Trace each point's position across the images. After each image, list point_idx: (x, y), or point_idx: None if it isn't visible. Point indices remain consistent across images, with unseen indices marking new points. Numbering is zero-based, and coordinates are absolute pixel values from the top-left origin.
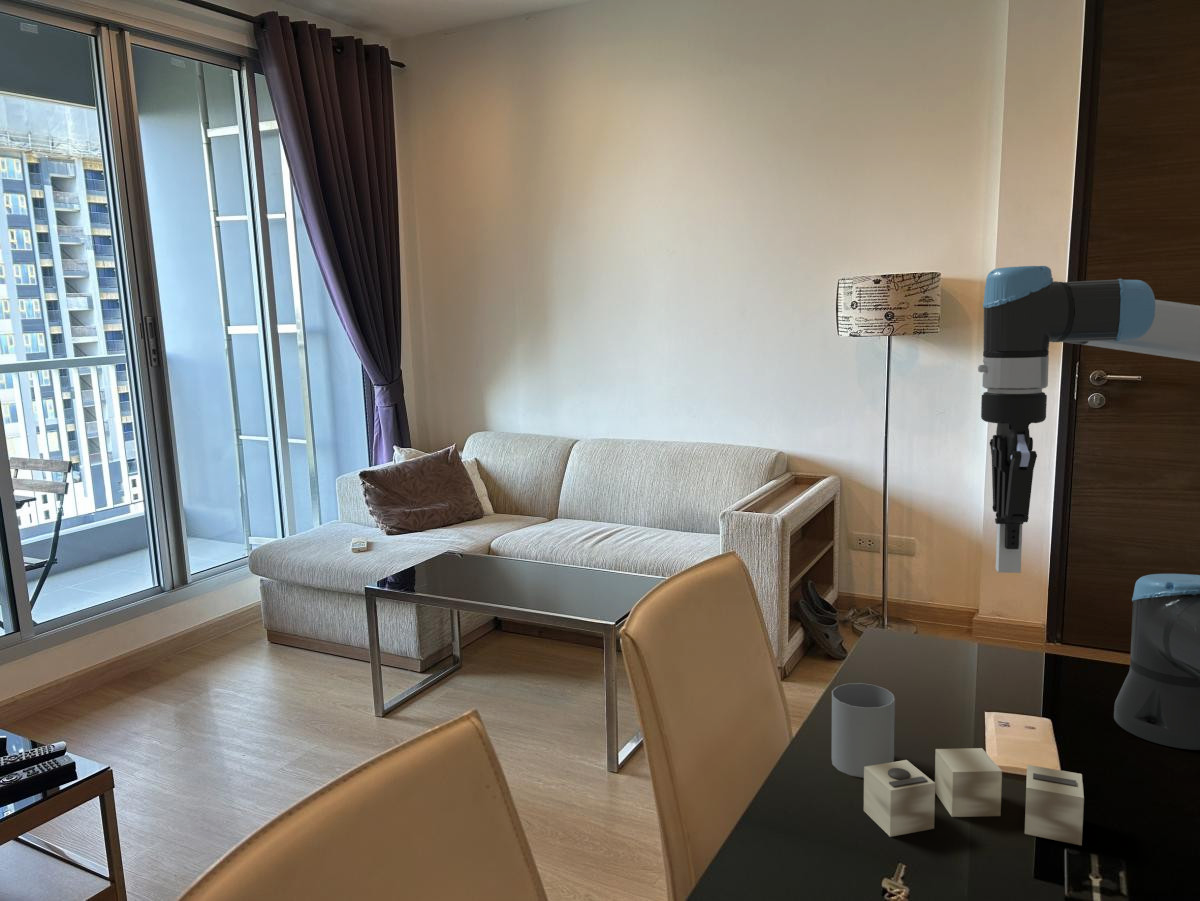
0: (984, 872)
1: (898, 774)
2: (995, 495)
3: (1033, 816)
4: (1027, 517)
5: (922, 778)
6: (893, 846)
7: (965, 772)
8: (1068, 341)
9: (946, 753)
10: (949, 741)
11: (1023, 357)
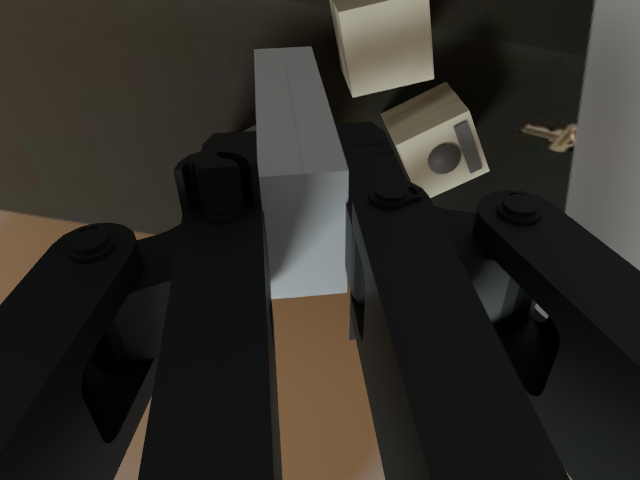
0: (551, 27)
1: (448, 160)
2: (127, 446)
3: None
4: (568, 220)
5: (460, 128)
6: (487, 135)
7: (432, 57)
8: None
9: (367, 81)
10: (143, 19)
11: None
